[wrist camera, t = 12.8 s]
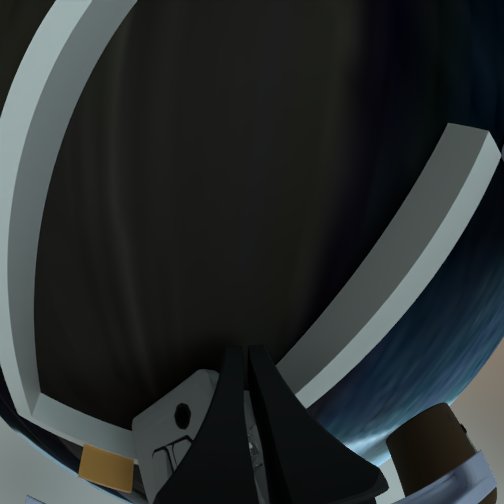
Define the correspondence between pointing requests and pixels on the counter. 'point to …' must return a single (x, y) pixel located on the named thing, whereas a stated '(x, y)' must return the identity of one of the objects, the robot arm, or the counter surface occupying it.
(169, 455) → the electrical switch
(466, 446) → the olive oil
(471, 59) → the counter surface
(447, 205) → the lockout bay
